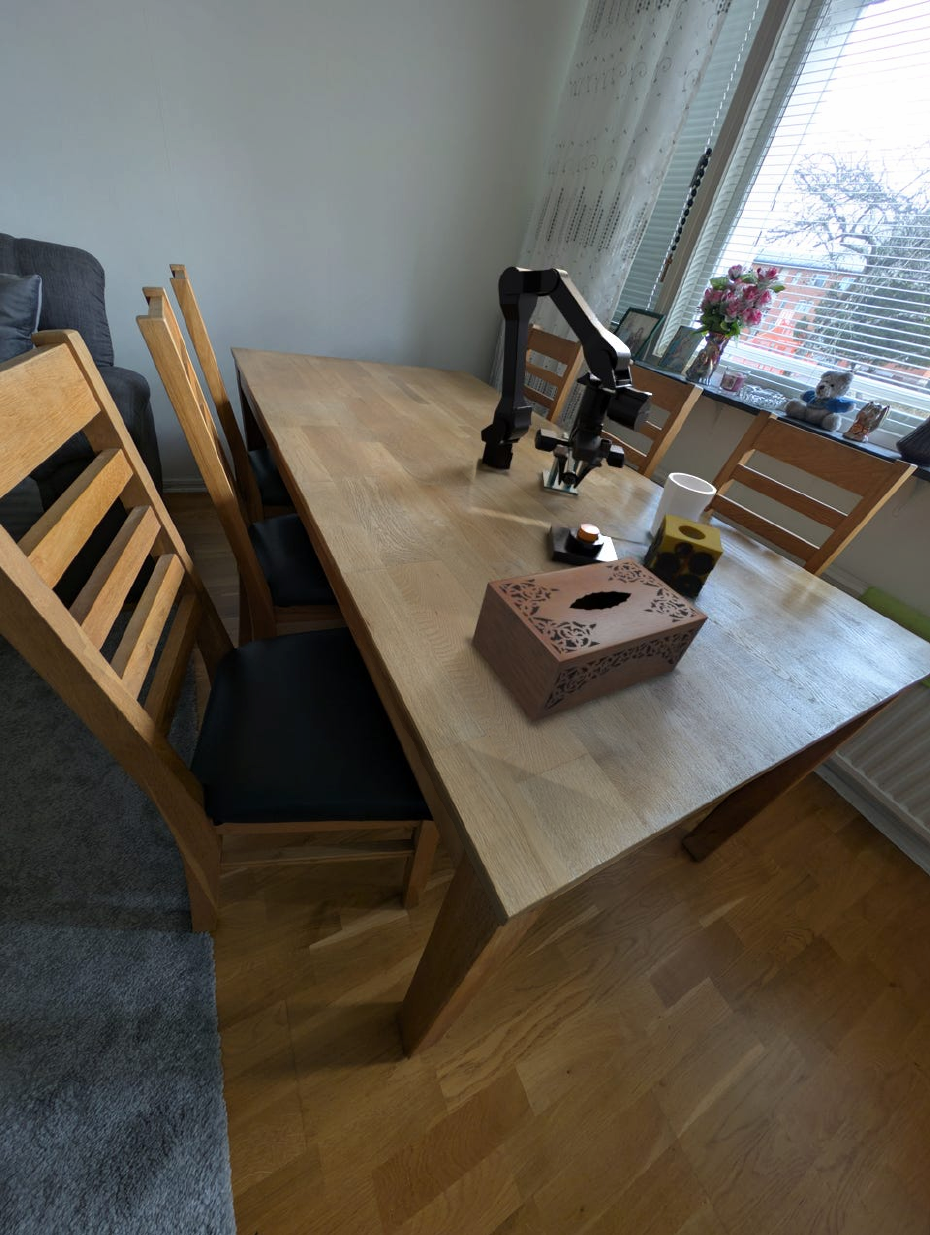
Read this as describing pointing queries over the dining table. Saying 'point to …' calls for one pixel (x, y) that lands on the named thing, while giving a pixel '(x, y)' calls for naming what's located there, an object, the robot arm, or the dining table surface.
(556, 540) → the button box
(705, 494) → the foam cup
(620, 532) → the dining table surface
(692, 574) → the yellow cube tissue box
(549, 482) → the teal pendulum stand
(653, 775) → the dining table surface
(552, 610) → the tissue box cover
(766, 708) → the dining table surface
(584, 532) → the button
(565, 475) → the lever
